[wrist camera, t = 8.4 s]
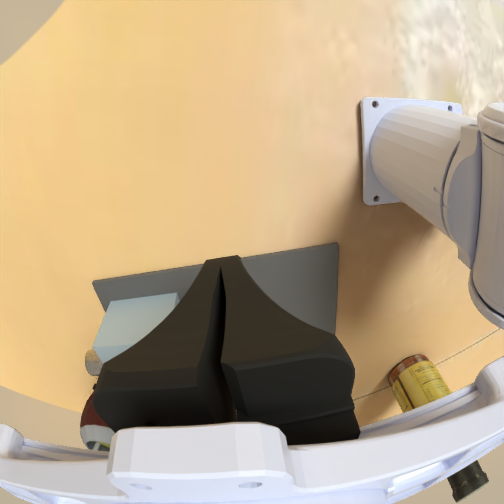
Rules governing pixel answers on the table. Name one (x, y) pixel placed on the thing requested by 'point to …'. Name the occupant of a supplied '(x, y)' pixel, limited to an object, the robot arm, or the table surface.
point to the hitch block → (131, 322)
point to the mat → (263, 273)
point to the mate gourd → (94, 428)
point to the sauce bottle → (423, 392)
